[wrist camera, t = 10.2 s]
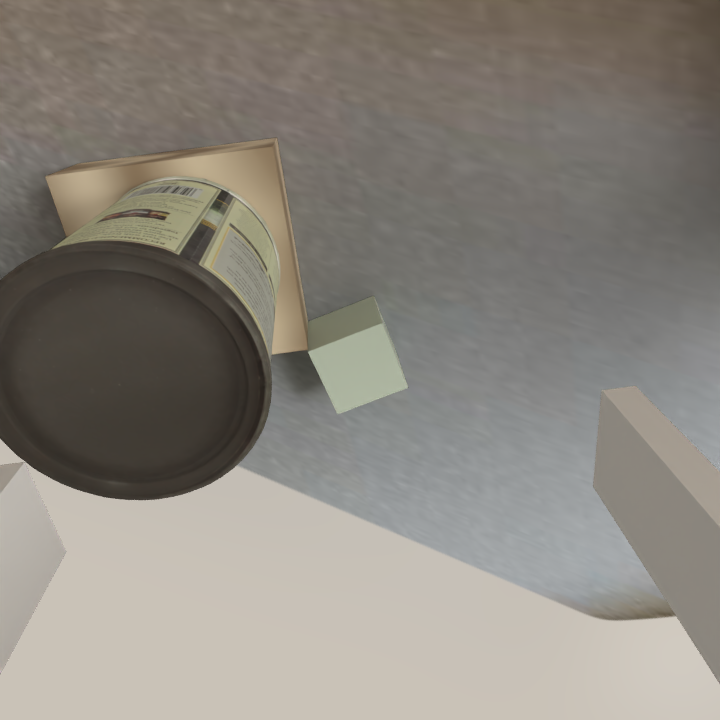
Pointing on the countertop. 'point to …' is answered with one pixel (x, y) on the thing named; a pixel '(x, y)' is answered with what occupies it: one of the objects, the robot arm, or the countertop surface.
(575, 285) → the countertop surface
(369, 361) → the sage block
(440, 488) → the countertop surface
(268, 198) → the beech block
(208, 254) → the coffee can
